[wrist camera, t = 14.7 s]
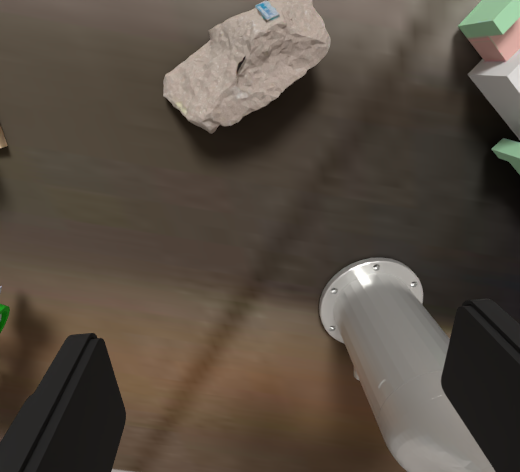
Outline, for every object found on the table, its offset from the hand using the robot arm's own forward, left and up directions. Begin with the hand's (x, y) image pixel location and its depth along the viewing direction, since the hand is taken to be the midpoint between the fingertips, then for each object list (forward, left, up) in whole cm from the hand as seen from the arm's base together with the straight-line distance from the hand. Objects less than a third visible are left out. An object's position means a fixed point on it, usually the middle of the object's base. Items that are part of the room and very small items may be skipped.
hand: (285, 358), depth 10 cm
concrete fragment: (+7, 0, -29) cm, 30 cm away
